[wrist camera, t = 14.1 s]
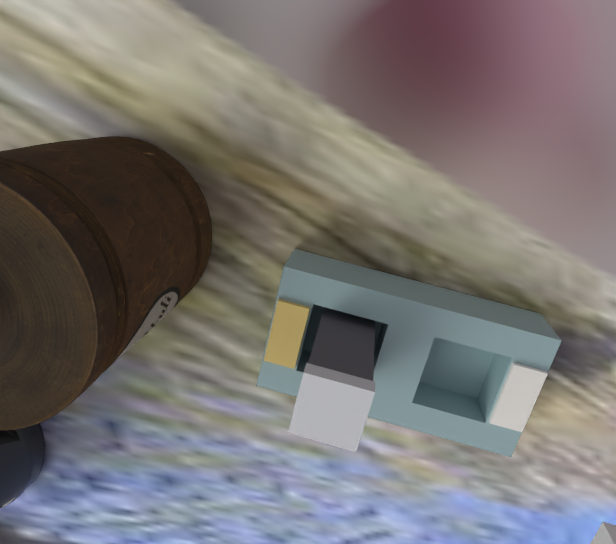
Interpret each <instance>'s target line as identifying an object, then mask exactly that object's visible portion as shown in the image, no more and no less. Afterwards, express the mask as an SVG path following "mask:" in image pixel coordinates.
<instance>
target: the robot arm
mask: <svg viewBox="0 0 616 544" xmlns="http://www.w3.org/2000/svg"><path fill="white" fill-rule="evenodd" d="M44 452H45V448H44V439H43V435H42V431H41V428H40V425H39V423H38V424H35V425H32V426H28V427H25V428H19V429H13V430H0V508H2V507H4V506H6V505H8V504H10V503H11V502H13V501H14V500H15V499H16V498H18V497H19V496H20V495H21V494H22V493H23V492H24V491H25V490H26V489H27V487H28V486H29V485H30V484H31V483H32V482H33V481H34V480H35V479H36V477H37V476H38V474H39V472H40V470H41V468H42V465H43V461H44ZM591 544H616V525H612V524H609V523H605V522H602V524H601V526H600V527H599V529H598V531H597V533H596V535H595V537H594V538H593V540H592V542H591Z"/></svg>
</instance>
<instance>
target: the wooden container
mask: <svg viewBox="0 0 616 544" xmlns="http://www.w3.org/2000/svg"><path fill="white" fill-rule="evenodd" d="M211 242H212V229H211V220H210V216H209V211H208V207H207V205H206V202H205V199H204V197H203V195H202V193H201V191H200V189H199V187H198V186H197V184H196V182H195V181H194V180H193V178H192V177H191V176H190V174H189V173H188V172H187V171H186V169H185V168H184V167H182V166H181V165H180V164H179V163H178V162H177V161H176V160H175V159H174V158H172V157H171V156H170V155H169V154H167V153H166V152H164V151H163V150H161V149H159V148H158V147H156V146H154V145H152V144H149V143H146V142H144V141H141V140H137V139H132V138H127V137H100V138H91V139H82V140H72V141H63V142H55V143H48V144H41V145H35V146H30V147H24V148H19V149H13V150H6V151H0V430H13V429H19V428H25V427H28V426H32V425H35V424H38V423H40V422H43V421H45V420H47V419H49V418H51V417H52V416H54V415H56V414H57V413H59V412H60V411H62V410H63V409H64V408H66V407H67V406H68V405H69V404H71V403H72V402H73V401H74V400H75V399H76V398H77V397H78V396H80V395H81V394H82V393H83V392H84V391H85V390H86V389H87V388H88V387H89V386H90V385H91V384H92V383H93V382H94V381H95V380H96V379H97V378H98V377H99V376H100V375H101V374H102V373H103V372H104V371H105V370H106V369H108V368H109V367H110V366H111V365H112V364H113V363H114V362H115V361H116V360H118V359H119V358H120V357H121V356H122V355H123V354H124V353H125V352H126V351H128V350H129V349H130V348H131V347H132V346H133V345H134V344H135V343H137V342H138V341H139V340H140V339H141V338H142V337H143V336H145V335H146V334H147V333H148V332H149V331H150V330H151V329H152V328H153V327H154V326H155V325H157V324H158V323H159V322H160V321H161V320H162V319H163V318H164V317H165V316H166V315H167V314H168V313H169V312H170V311H171V310H172V309H173V308H174V307H175V306H176V305H177V304H178V303H179V302H180V301H181V300H182V299H183V298H184V297H185V296H186V295H187V294H188V292H189V291H190V290H191V289H192V288H193V287H194V286H195V284H196V283H197V282H198V280H199V279H200V277H201V276H202V274H203V272H204V270H205V268H206V265H207V263H208V259H209V256H210V251H211Z"/></svg>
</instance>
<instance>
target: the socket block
mask: <svg viewBox="0 0 616 544" xmlns="http://www.w3.org/2000/svg"><path fill="white" fill-rule="evenodd" d="M324 307H326V308H330V309H333V310H337V311H341V312H344V313H348V314H352V315H355V316H359V317H363V318H367V319H370V320H374V321H375V343H374V376H373V381H374V382H375V394H374V398H373V401H372V404H371V407H370V410H369V413H368V417H370V418H373V419H377V420H381V421H384V422H388V423H391V424H395V425H398V426H402V427H405V428H409V429H413V430H416V431H420V432H423V433H427V434H430V435H434V436H438V437H441V438H445V439H448V440H452V441H455V442H459V443H462V444H466V445H470V446H473V447H477V448H480V449H484V450H487V451H491V452H494V453H498V454H502V455H505V456H509V457H511V456H512V454H513V451H514V449H515V447H516V444H517V442H518V440H519V437H520V435H521V433H522V432H523V429H524V427H525V425H526V423H527V420H528V418H529V416H530V413H531V411H532V409H533V407H534V404H535V402H536V400H537V397H538V395H539V393H540V390H541V388H542V386H543V384H544V381H545V379H546V377H547V374H548V371H549V369H550V366H551V364H552V362H553V359H554V357H555V355H556V353H557V350H558V348H559V346H560V343H561V341H562V340H561V339H560V338H559V337H558V335H557V334H556V333H555V331H554V330H553V329H552V328H551V326H550V325H549V324H548V322H547V321H546V320H545V319H544V317H543V316H542V315H541V314H540V313H536V312H532V311H528V310H525V309H521V308H517V307H513V306H509V305H506V304H502V303H498V302H494V301H491V300H487V299H483V298H479V297H475V296H472V295H468V294H464V293H460V292H457V291H453V290H449V289H445V288H441V287H438V286H434V285H430V284H426V283H423V282H419V281H415V280H411V279H407V278H404V277H400V276H396V275H392V274H389V273H385V272H381V271H377V270H373V269H370V268H366V267H362V266H358V265H355V264H351V263H347V262H343V261H339V260H336V259H332V258H328V257H324V256H321V255H317V254H313V253H309V252H305V251H302V250H298V249H294V251H293V252H292V254H291V256H290V257H289V259H288V261H287V262H286V264H285V265H284V268H283V272H282V277H281V281H280V285H279V290H278V294H277V298H276V303H275V307H274V311H273V316H272V320H271V324H270V329H269V333H268V337H267V342H266V346H265V350H264V355H263V359H262V363H261V368H260V372H259V376H258V381H257V385H256V386H259V387H263V388H267V389H270V390H274V391H277V392H281V393H284V394H288V395H292V396H295V397H297V396H298V392H299V388H300V384H301V381H302V377H303V373H304V369H305V366H306V363H308V362H309V359H310V355H311V352H312V348H313V345H314V341H315V338H316V334H317V331H318V327H319V324H320V320H321V317H322V313H323V310H324Z"/></svg>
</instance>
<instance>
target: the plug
mask: <svg viewBox="0 0 616 544" xmlns="http://www.w3.org/2000/svg"><path fill="white" fill-rule="evenodd" d="M374 343H375V321H374V320H370V319H367V318H363V317H359V316H355V315H352V314H348V313H344V312H341V311H337V310H333V309H330V308H326V307H324V310H323V313H322V317H321V320H320V324H319V327H318V331H317V334H316V338H315V341H314V345H313V348H312V352H311V355H310V359H309V362H308V363H306V366H305V369H304V373H303V377H302V381H301V384H300V388H299V392H298V396H297V400H296V403H295V407H294V411H293V415H292V419H291V423H290V426H289V430H288V433H290V434H293V435H297V436H300V437H304V438H307V439H311V440H314V441H318V442H321V443H325V444H328V445H332V446H336V447H339V448H343V449H346V450H350V451H353V452H356V451H357V448H358V445H359V442H360V439H361V435H362V432H363V429H364V426H365V423H366V420H367V417H368V413H369V410H370V407H371V404H372V401H373V398H374V394H375V382H374V381H373V376H374Z"/></svg>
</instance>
